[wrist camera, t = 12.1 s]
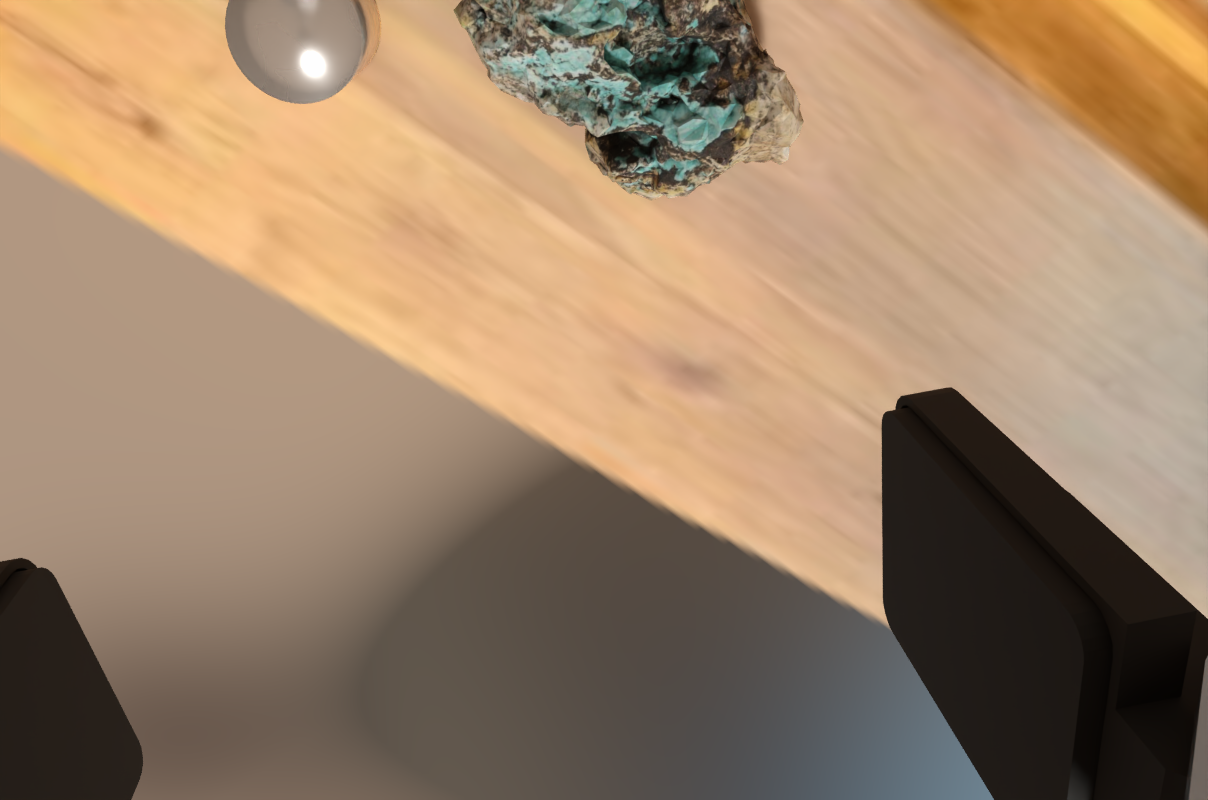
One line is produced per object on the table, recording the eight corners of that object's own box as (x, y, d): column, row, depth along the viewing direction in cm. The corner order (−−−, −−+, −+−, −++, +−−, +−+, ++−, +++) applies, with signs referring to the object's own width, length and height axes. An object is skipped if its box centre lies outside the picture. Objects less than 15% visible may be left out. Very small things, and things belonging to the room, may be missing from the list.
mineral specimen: (419, -15, 32) (460, 85, 27) (607, -230, 30) (696, -166, 24) (629, 180, 41) (693, 287, 35) (793, 26, 38) (889, 117, 32)
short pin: (252, -29, 32) (206, -26, 27) (365, -47, 33) (342, -48, 27) (285, 88, 34) (249, 113, 29) (392, 71, 34) (375, 92, 29)
